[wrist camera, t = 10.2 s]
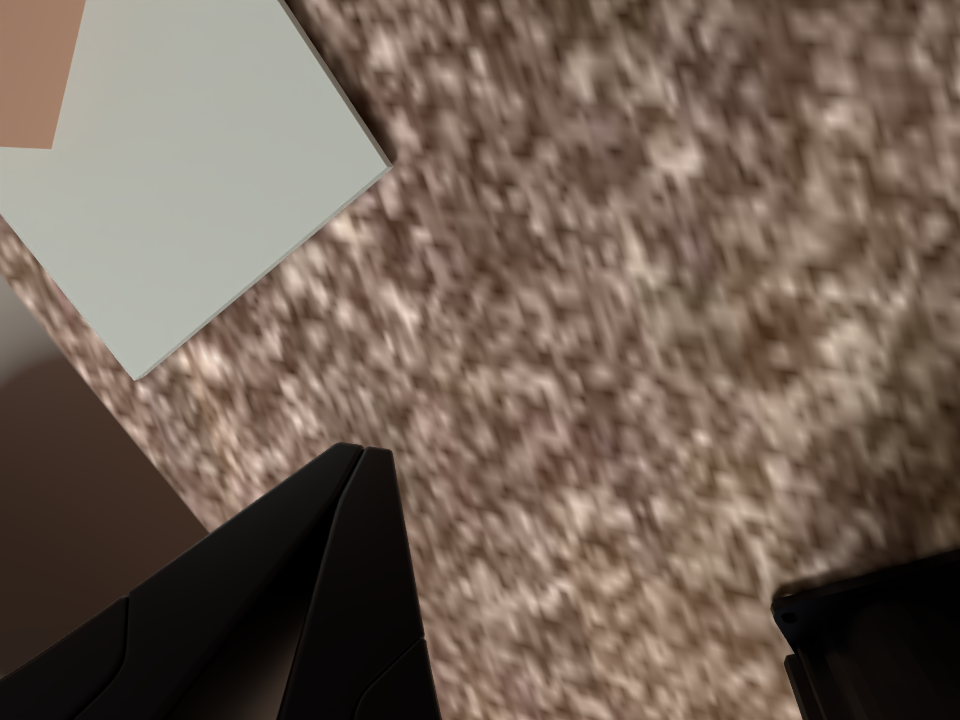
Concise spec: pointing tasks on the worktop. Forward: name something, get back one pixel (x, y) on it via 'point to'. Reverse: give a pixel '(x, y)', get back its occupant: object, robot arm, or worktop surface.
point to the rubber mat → (184, 165)
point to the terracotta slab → (35, 67)
